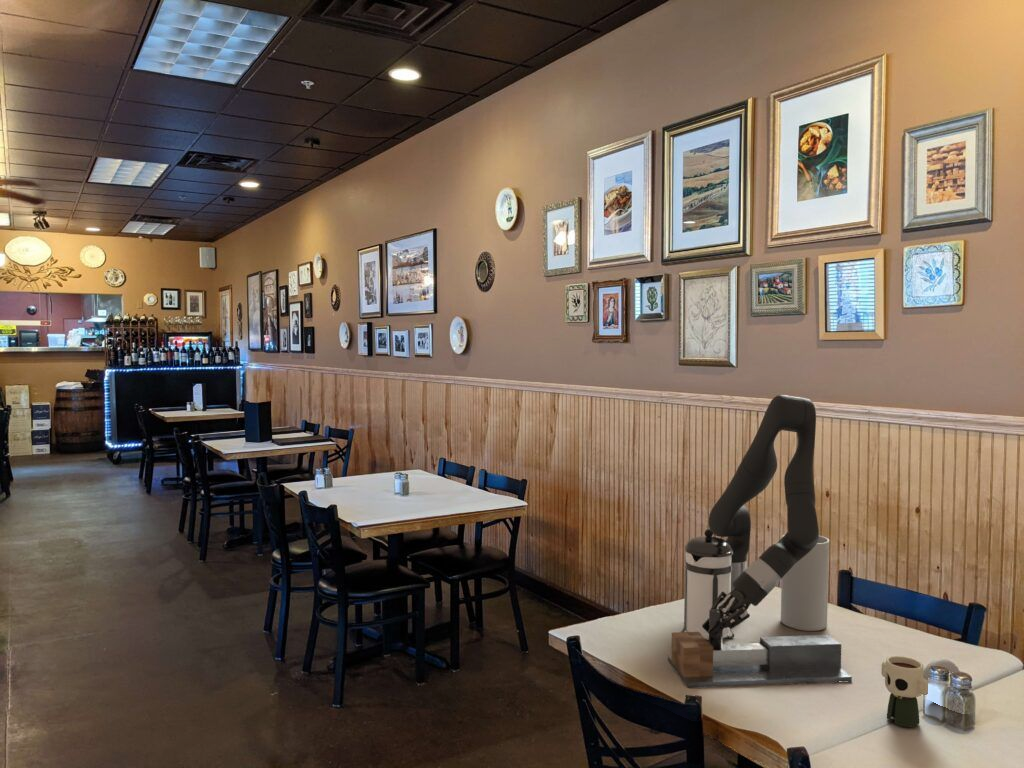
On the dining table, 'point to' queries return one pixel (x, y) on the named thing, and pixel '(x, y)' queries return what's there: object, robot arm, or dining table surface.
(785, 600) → the cylinder vase
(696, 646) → the brown wooden block
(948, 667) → the donut
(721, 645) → the slider
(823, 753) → the dining table surface
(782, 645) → the grey base with blocks
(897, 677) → the character mug
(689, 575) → the coffee press
